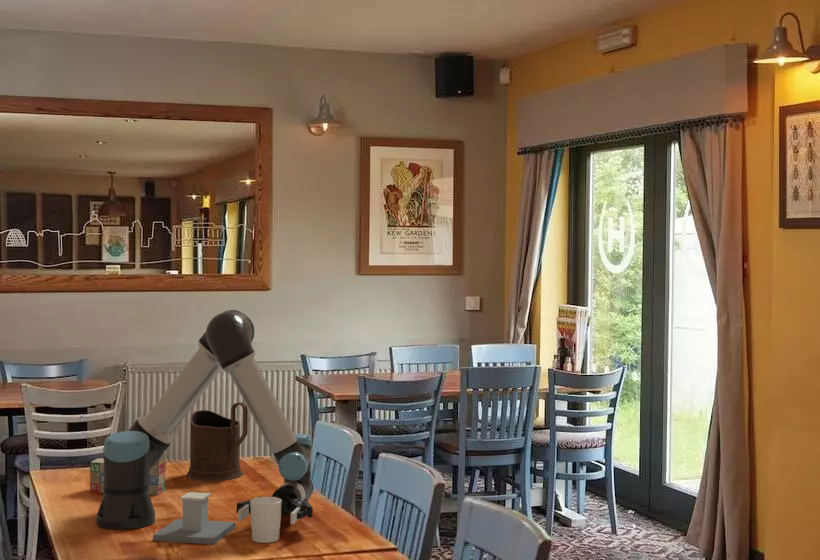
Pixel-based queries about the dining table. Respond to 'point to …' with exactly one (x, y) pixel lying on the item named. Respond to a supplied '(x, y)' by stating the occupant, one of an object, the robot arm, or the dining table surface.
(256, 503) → the white cup
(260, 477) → the dining table surface
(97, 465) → the stack of blocks
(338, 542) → the dining table surface
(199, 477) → the cup holder
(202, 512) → the narrow pillar
